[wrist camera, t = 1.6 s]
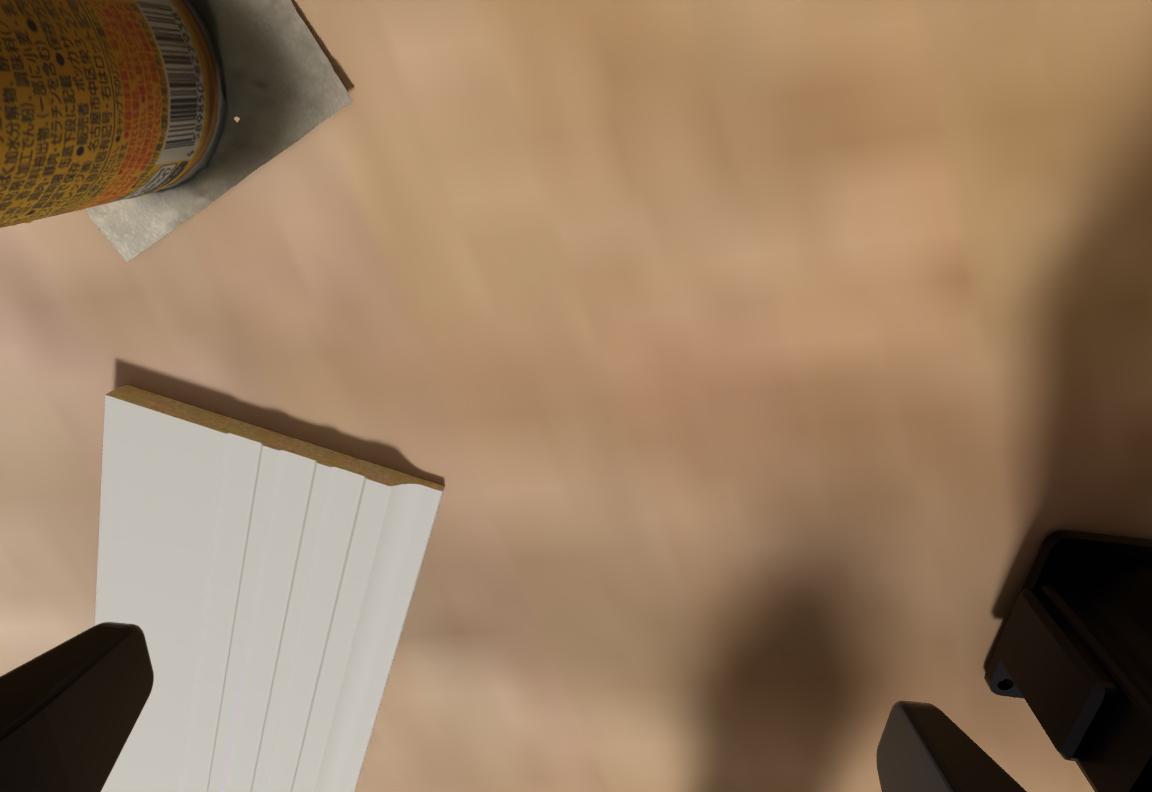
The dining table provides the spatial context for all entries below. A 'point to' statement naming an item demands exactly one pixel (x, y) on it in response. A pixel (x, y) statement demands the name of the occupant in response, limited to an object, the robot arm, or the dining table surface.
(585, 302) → the dining table surface
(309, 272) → the dining table surface
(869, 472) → the dining table surface
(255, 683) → the baseboard molding
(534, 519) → the dining table surface
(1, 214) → the condiment
